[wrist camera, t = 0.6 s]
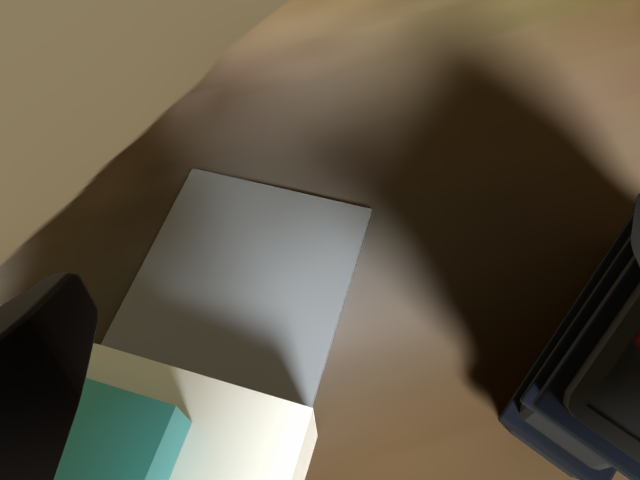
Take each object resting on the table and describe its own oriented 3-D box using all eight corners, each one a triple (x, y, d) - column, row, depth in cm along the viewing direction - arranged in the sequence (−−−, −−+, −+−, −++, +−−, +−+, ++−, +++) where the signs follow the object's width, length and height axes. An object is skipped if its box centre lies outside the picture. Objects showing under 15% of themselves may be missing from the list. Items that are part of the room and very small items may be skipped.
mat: (307, 424, 22) (306, 422, 21) (96, 360, 23) (93, 357, 23) (371, 212, 26) (372, 209, 26) (193, 171, 28) (192, 167, 28)
